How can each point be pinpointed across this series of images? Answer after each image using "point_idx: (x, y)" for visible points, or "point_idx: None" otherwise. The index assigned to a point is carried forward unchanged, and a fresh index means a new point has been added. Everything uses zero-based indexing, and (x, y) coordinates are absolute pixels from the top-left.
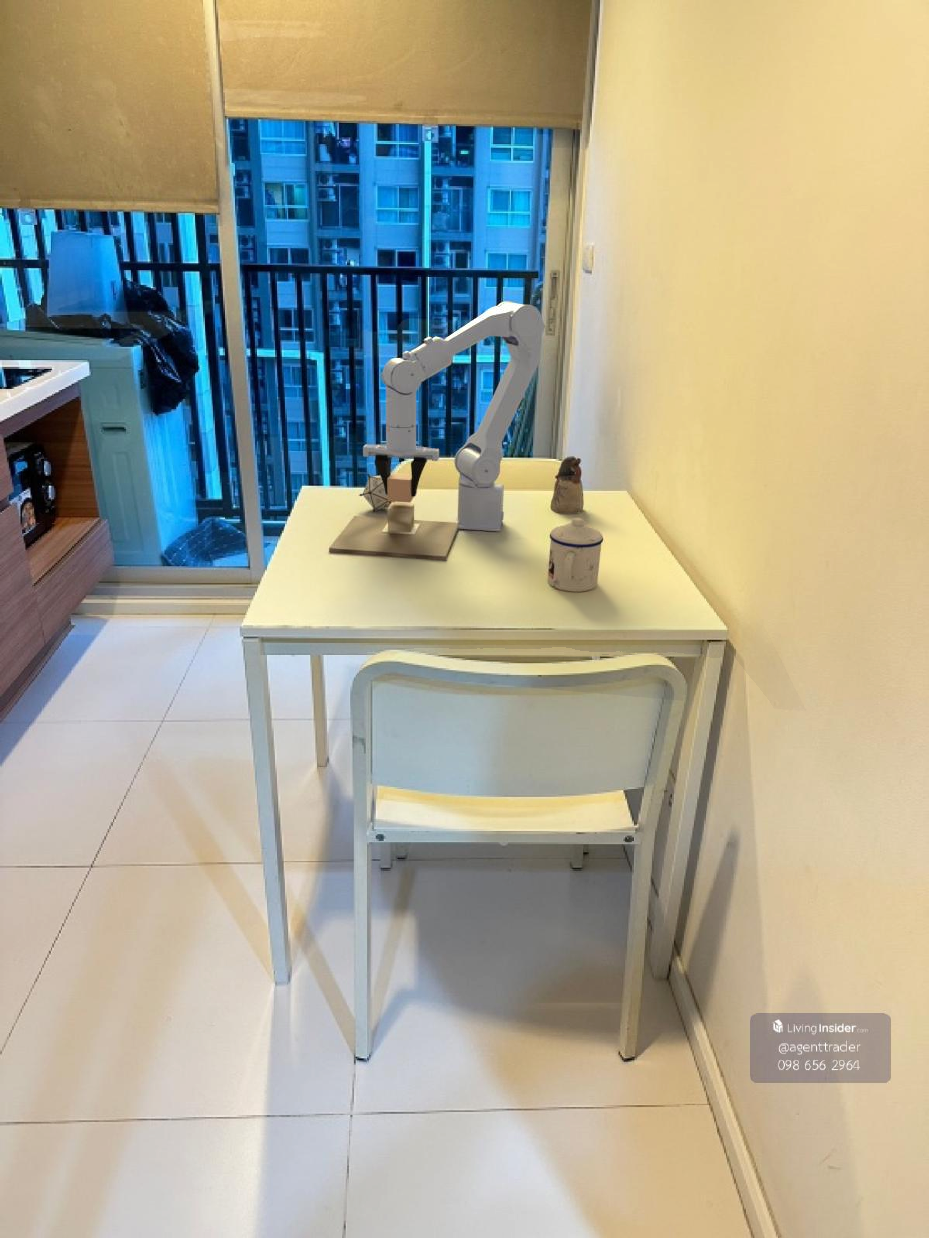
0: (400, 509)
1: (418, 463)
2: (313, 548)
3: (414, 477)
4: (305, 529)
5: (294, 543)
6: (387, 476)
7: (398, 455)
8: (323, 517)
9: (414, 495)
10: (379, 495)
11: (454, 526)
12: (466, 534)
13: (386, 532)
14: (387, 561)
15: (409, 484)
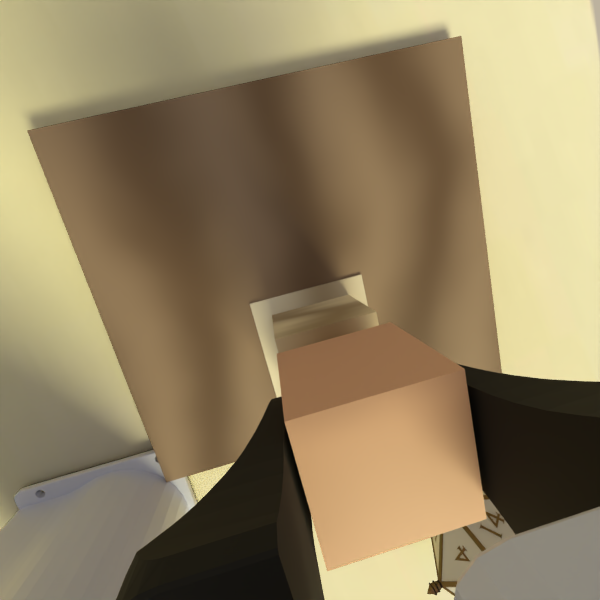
0: (319, 330)
1: (158, 591)
2: (511, 61)
3: (259, 460)
4: (595, 226)
5: (583, 83)
6: (480, 402)
7: (561, 538)
8: (583, 350)
9: (269, 402)
10: (485, 501)
11: (163, 443)
12: (112, 419)
13: (345, 278)
14: (229, 36)
15: (288, 400)
